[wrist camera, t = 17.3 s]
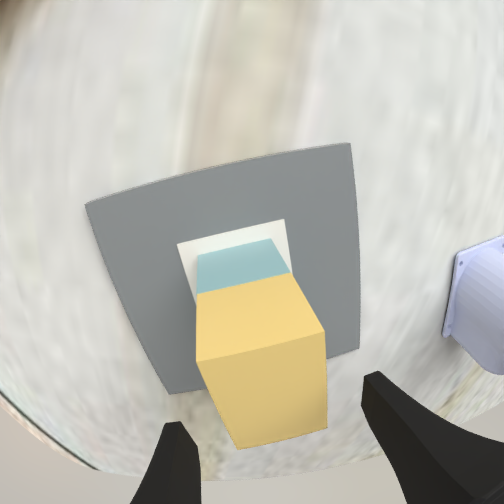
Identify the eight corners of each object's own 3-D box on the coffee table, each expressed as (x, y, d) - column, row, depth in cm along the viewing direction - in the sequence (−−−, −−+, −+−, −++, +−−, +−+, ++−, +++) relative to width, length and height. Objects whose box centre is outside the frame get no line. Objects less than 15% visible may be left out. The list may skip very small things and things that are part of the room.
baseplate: (356, 343, 23) (359, 348, 23) (169, 389, 23) (168, 395, 22) (346, 142, 17) (350, 143, 16) (87, 202, 16) (83, 204, 15)
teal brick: (285, 323, 21) (303, 367, 16) (223, 338, 20) (228, 385, 16) (270, 238, 18) (290, 271, 14) (197, 255, 18) (196, 293, 14)
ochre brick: (303, 367, 16) (327, 428, 12) (228, 385, 16) (237, 450, 12) (290, 272, 14) (324, 330, 10) (196, 294, 14) (196, 361, 9)
